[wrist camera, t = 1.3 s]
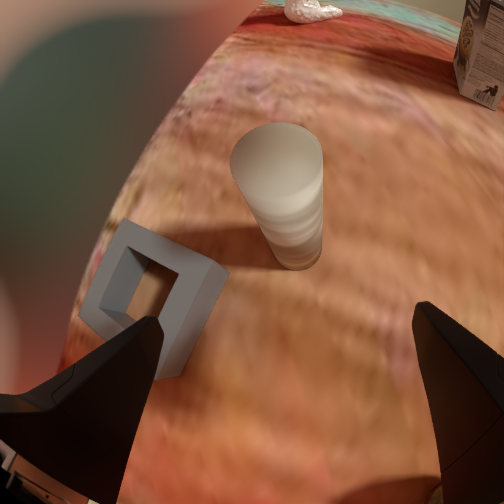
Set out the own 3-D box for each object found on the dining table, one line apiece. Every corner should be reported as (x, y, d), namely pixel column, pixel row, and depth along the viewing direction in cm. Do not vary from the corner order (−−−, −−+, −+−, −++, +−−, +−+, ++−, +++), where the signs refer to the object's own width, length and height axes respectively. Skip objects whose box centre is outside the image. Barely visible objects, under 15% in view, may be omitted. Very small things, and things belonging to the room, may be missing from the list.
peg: (310, 278, 22) (301, 210, 10) (265, 259, 23) (213, 181, 12) (328, 234, 23) (334, 134, 11) (285, 218, 24) (253, 115, 12)
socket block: (180, 375, 22) (155, 380, 18) (105, 320, 25) (77, 315, 21) (230, 272, 24) (213, 260, 20) (146, 233, 27) (123, 217, 23)
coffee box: (450, 61, 26) (467, -23, 11) (485, 76, 24) (510, -1, 9) (458, 94, 24) (486, -4, 9) (496, 113, 22) (535, 25, 7)
